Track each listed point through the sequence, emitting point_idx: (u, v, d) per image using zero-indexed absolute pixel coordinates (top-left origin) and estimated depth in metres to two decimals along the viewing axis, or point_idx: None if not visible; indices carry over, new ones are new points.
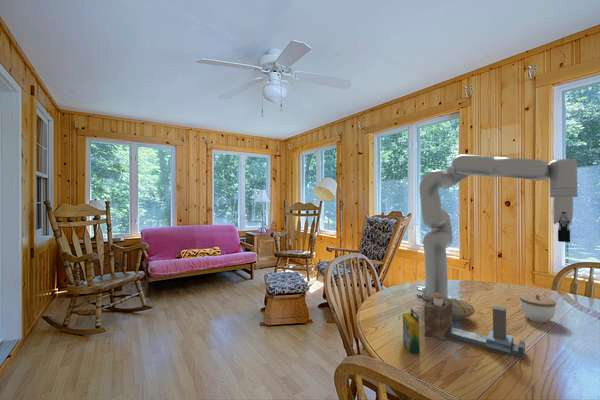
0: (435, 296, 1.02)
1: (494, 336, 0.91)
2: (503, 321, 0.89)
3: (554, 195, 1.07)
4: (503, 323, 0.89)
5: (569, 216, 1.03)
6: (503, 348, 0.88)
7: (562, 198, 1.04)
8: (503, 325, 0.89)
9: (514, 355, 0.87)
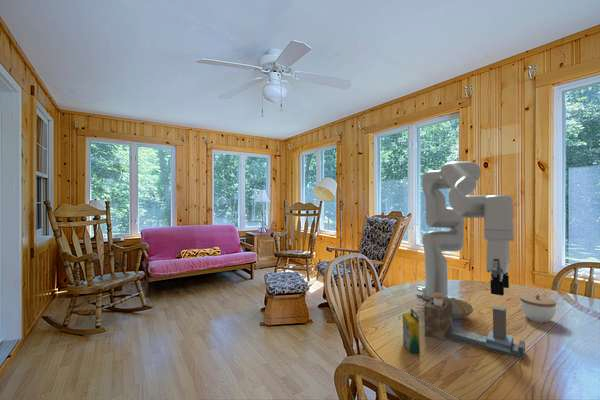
0: (435, 296, 1.02)
1: (494, 336, 0.91)
2: (503, 321, 0.89)
3: (487, 237, 0.91)
4: (503, 323, 0.89)
5: (502, 264, 0.86)
6: (503, 348, 0.88)
7: (494, 242, 0.88)
8: (503, 325, 0.89)
9: (514, 355, 0.87)
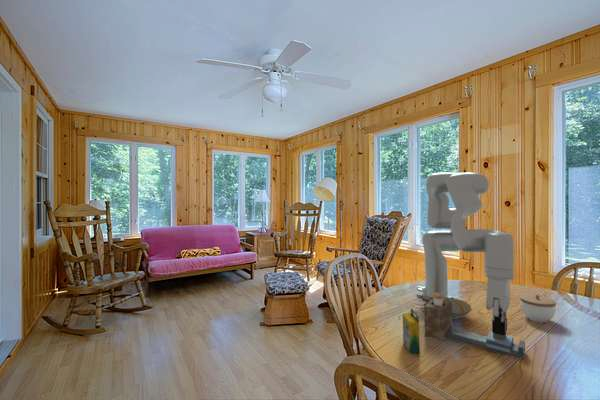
0: (435, 296, 1.02)
1: (494, 336, 0.91)
2: None
3: (488, 275, 0.91)
4: None
5: (502, 304, 0.87)
6: (503, 348, 0.88)
7: (495, 281, 0.88)
8: None
9: (514, 355, 0.87)
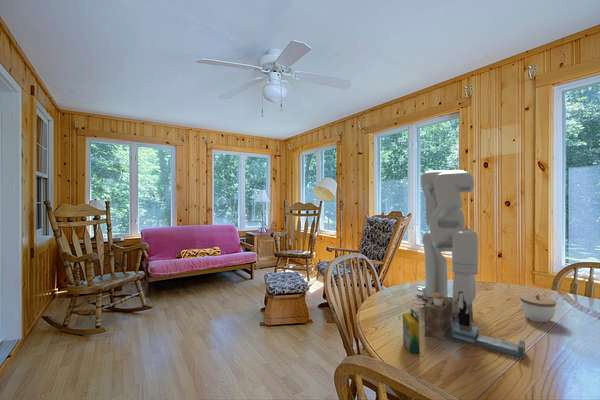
0: (435, 296, 1.02)
1: (460, 327, 0.97)
2: None
3: (454, 270, 0.97)
4: None
5: (466, 297, 0.93)
6: (467, 338, 0.94)
7: (460, 276, 0.94)
8: None
9: (514, 355, 0.87)
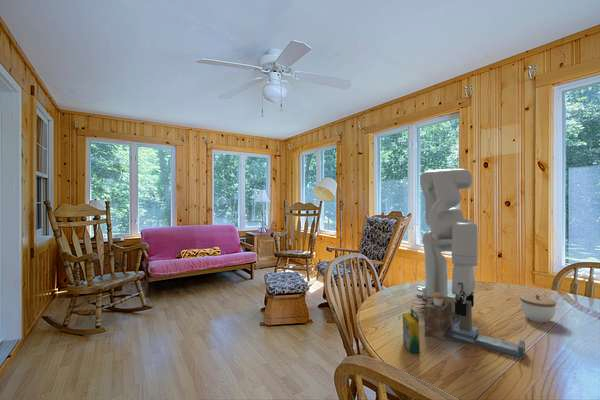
0: (435, 296, 1.02)
1: (460, 327, 0.97)
2: (468, 313, 0.96)
3: (454, 262, 0.97)
4: (468, 315, 0.96)
5: (465, 288, 0.93)
6: (467, 338, 0.94)
7: (459, 267, 0.95)
8: (468, 317, 0.96)
9: (514, 355, 0.87)
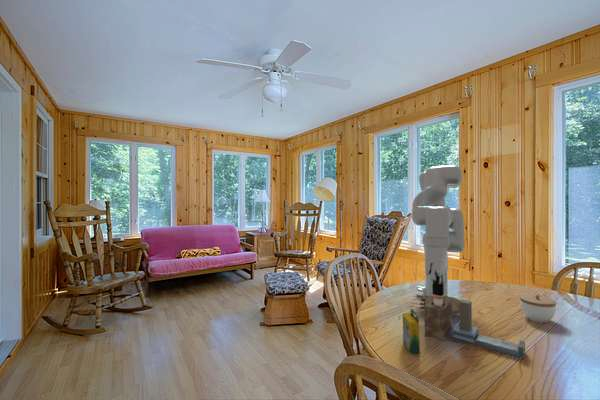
0: (435, 296, 1.02)
1: (460, 327, 0.97)
2: (468, 313, 0.96)
3: (427, 244, 1.03)
4: (468, 315, 0.96)
5: (437, 268, 0.99)
6: (467, 338, 0.94)
7: (432, 249, 1.00)
8: (468, 317, 0.96)
9: (514, 355, 0.87)
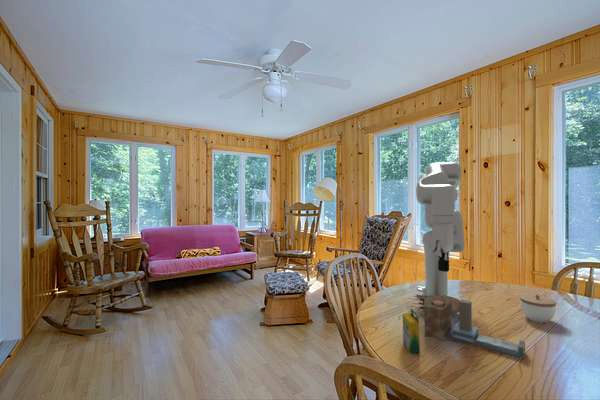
0: (435, 304, 1.02)
1: (460, 327, 0.97)
2: (468, 313, 0.96)
3: (433, 222, 1.05)
4: (468, 315, 0.96)
5: (443, 245, 1.01)
6: (467, 338, 0.94)
7: (437, 226, 1.02)
8: (468, 317, 0.96)
9: (514, 355, 0.87)
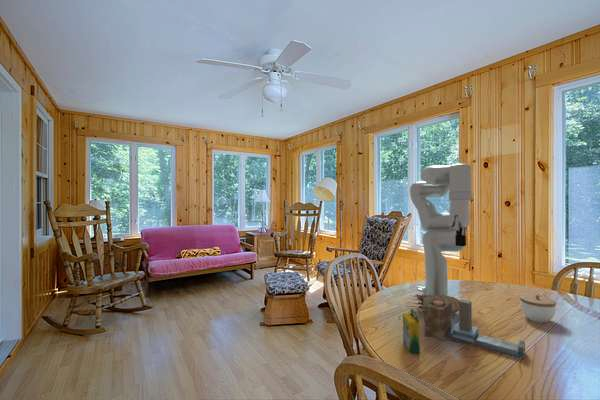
0: (435, 304, 1.02)
1: (460, 327, 0.97)
2: (468, 313, 0.96)
3: (450, 199, 1.10)
4: (468, 315, 0.96)
5: (461, 219, 1.06)
6: (467, 338, 0.94)
7: (455, 202, 1.08)
8: (468, 317, 0.96)
9: (514, 355, 0.87)
